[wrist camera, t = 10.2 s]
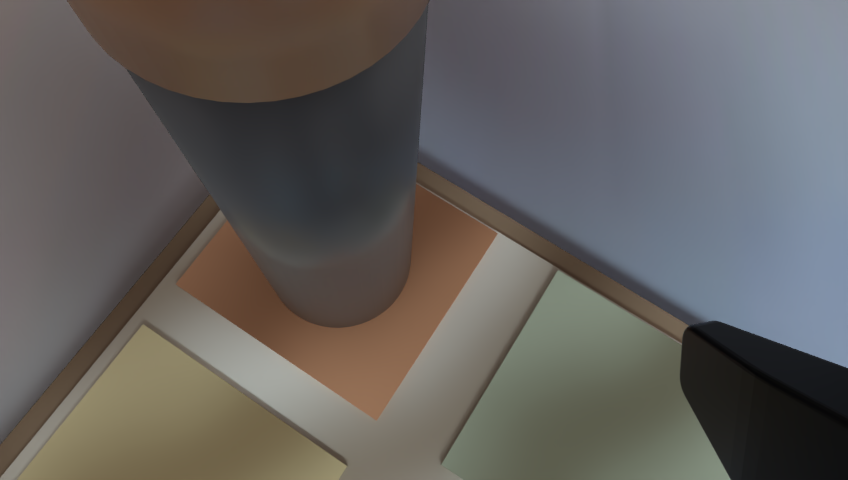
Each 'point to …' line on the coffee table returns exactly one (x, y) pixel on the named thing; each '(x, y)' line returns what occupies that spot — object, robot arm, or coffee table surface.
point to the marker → (291, 131)
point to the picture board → (374, 371)
